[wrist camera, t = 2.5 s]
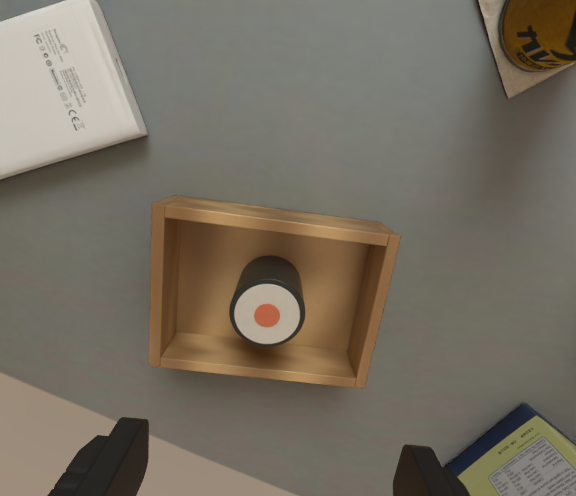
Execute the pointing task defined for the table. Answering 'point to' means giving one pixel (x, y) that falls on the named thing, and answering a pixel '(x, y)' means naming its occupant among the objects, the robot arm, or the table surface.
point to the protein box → (519, 459)
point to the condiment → (530, 39)
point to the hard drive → (61, 87)
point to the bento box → (225, 275)
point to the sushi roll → (268, 302)
